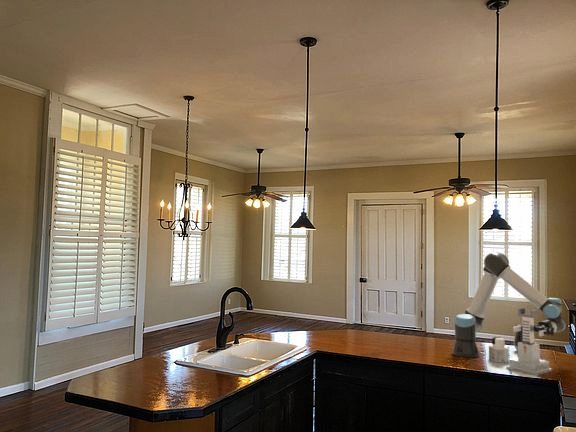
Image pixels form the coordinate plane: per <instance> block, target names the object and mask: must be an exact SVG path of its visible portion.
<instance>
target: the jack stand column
mask: <svg viewBox="0 0 576 432" xmlns="http://www.w3.org/2000/svg"><path fill="white" fill-rule="evenodd" d="M517 316H518V317H521V318H522V323H521V325H523V341H526V342H529V344H530V345H532V344H534V343H535V332H534V325H535V320H534V319H536V318H539V310H538V309H531V310H530V312H526V307H522V308H520V307H519V308H517Z"/></svg>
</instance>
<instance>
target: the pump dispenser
mask: <svg viewBox="0 0 576 432" xmlns="http://www.w3.org/2000/svg"><path fill="white" fill-rule="evenodd" d="M522 341H523V330H521V331H520V332H519V331H518V332H516V333H515V336H514V339H513V346H514V348H515V350H516V351H517V352H518V342H522Z"/></svg>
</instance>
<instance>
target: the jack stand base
mask: <svg viewBox="0 0 576 432" xmlns="http://www.w3.org/2000/svg"><path fill="white" fill-rule="evenodd" d="M540 352H541V351H540V342H539V343H538V342H534V344H532V345H530V344H529V342H526V341H522V342H518V351H517V357H513V358H509V362H508V365H506V367H505V368H506V369H507V370H512V371H515V372H519V373H525V374H528V375H532V376H540V375H544V374H547V373H550V372H552V371H553V368H551V367H550V361H549V360H546V359H541V358H540V357H541V355H540V354H541V353H540Z"/></svg>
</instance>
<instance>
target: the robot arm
mask: <svg viewBox="0 0 576 432" xmlns="http://www.w3.org/2000/svg"><path fill="white" fill-rule="evenodd" d="M483 265H484V267H483V268H482V271H483V275H482V278H481V281H480V282H479V285H478V288H477V290H476V292H475V294H474V297H473V298H472V301H471V304H470V306H469V307H468V308H466V309H465V311H464V313H460V314H457V315H456V316H455V317H454V344H453V346H452V351H451V354H452V355H454V356H457V357H460V358H469V359H470V358H478V357H480V352H479V348H478V346H477V345H478V344H477V343H476V341H477V340H476V338H477V335H476V334H477V333H478V332H480V330H481V329H482V328H483V323H484V320H485V315H484V313H485V312H486V311H485V310H486V308H487V306H488V304H489V303H490V299H491V297H492V296H493V295H492V294H493V292H494V290H495V288H496V285H497V284H498V280H499V279H502V280H503V281H504V282H505V283H507V284H508V285H509V286H510V287H512V289H514V290H515V291H517V292H518V293H519V294H520V295H521V296H523V298H525V299H526V300H527V301H529V302H530V303H531V304H532V305H534V306H535V307H536V308H537V310H538V309H539V310H540V312H542V313H543V314H544V316H545V318H546V320H541V321H538V322H537V323H536V324H534V333H535V332H536V333H538V337H543V336H552V337H553V336H554V335H555V334H557V333H561V332H564V330H565V329H566V323H565V321H564V320H563V303H562V299H561V298H557V297H548V298H547V296H546V295H544V294H543V293H542V292H540V291H539V289H537V288H535V287H534V286H533V285H532V284H531V283H529V282H527V280H525V279H524V278H523V277H522V276H520V275H519V274H518V273H517V272H515V270H513V269H512V268H511V265H510V261H509V258H508V257H507V256H506V255H505V254H503V253H502V252H497V251H496V252H492V253H491V252H490V253H488V254H487V255H485V257H484V260H483ZM512 328H513V333H515V332H518V331H519V332H520V331H521V330H523V324H515V326H513V327H512Z"/></svg>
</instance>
